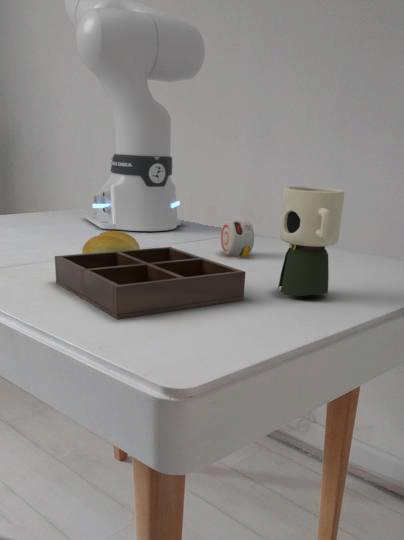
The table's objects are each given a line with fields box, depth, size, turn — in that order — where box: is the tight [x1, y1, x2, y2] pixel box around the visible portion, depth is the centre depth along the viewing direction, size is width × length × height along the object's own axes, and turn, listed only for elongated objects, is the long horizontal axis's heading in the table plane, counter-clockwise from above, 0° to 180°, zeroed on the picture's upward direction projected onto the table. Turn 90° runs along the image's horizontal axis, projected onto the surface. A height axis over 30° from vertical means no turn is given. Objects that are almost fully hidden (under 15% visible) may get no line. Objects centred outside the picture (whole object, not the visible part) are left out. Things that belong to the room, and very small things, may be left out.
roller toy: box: [220, 219, 255, 259], centre depth 93 cm, size 4×6×6 cm
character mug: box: [277, 186, 345, 299], centre depth 70 cm, size 11×7×13 cm, turn 9°
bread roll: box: [81, 230, 141, 254], centre depth 87 cm, size 8×9×4 cm
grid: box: [54, 246, 247, 320], centre depth 70 cm, size 17×17×4 cm
